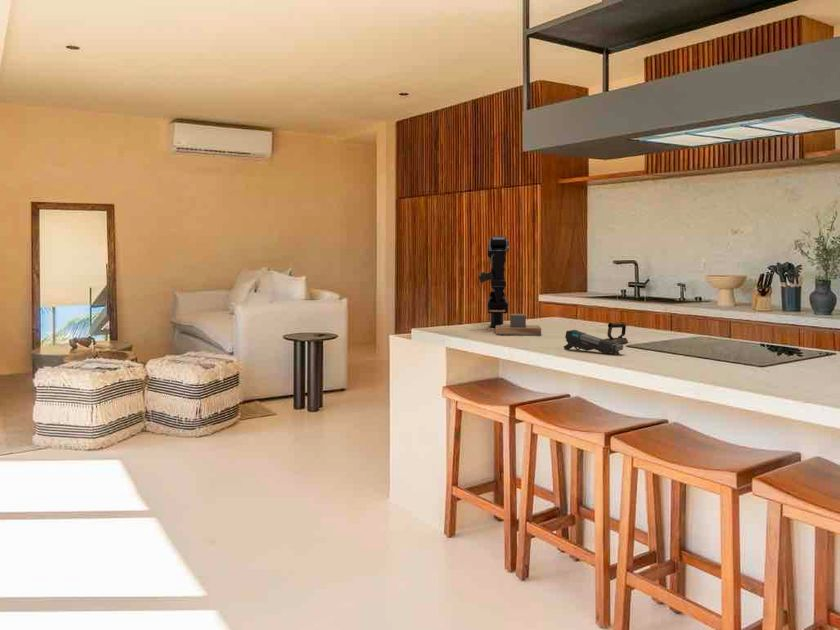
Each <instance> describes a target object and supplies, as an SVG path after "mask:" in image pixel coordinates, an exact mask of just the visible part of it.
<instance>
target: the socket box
mask: <svg viewBox="0 0 840 630" xmlns="http://www.w3.org/2000/svg"><path fill="white" fill-rule="evenodd" d="M496 335H501V336H509V337H510V336H511V337H512V336H514V337H517V336H518V337H519V336H520V337H521V336H522V337H542V327H541V326H540V325H536V324H533V325H532V324H531V325H530V324H529V325H527V324H526V328H514V327H510V324H503V325H496V327H495V336H496ZM501 336H500V337H501Z"/></svg>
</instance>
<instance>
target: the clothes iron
mask: <svg viewBox="0 0 840 630" xmlns="http://www.w3.org/2000/svg"><path fill="white" fill-rule="evenodd" d="M607 326H608V329H607V338H606V339H607V340H610V341H613V342H617V343H618V344H621V345H627V344H628V343H629V340H628V338H627V337H625V335H626V328H627V323H626V322H608V324H607ZM616 328H617V329H618V328H619V329H620V328H621V334H620V335H618V337H613V335H612V331H613V329H616Z"/></svg>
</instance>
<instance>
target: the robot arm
mask: <svg viewBox="0 0 840 630" xmlns="http://www.w3.org/2000/svg"><path fill="white" fill-rule="evenodd" d="M506 237H507V236H503V235H501V236H493V235H492V236H491V238H489V240H488V241H489V243H488V244H487V258H489V259H488V260H489V261H488V262H489V264H490V267H491V268H490V271H488V272H485V271H483V272H480V275H477V278H478V280H479V283H480V284H482V283H484V282H486V281H489V283H490V288H492V290H490V292H489V297H488V298H489V299H487V314H490V324H489V328H496V325H504V314H508V313H509V302H508V300H507V299H506V294H505V292H504V290H505V289H506V286H507V282H506V278H505V277H506V276H505V275H506V262H507V261H506V260H507V259H506V258H507V253H508V251H509V250H510V245H509V242H510V241H509V239H508V238H506Z"/></svg>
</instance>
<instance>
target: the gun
mask: <svg viewBox="0 0 840 630" xmlns="http://www.w3.org/2000/svg"><path fill="white" fill-rule="evenodd" d="M564 338H565V341H566V342H567V344H566V345H564V346H563V349H564V350H565V351H567V350H568V351H569V350H570V349H572V348H575V350H576V351H580V350H583V351H586V352H588V351H592V350H593V351H594V350H595V351H598V352H600V353H603V354H605V355H606V354H612V355H614V356H617V355H620V351H623V350H624V345H625V344H623V345H621V344H618V343H617V342H613V341H610V340H607V338H601V337H598V336H595V335H591V334H588V333H586V332H583V331H579V330H577V329H571V330H566V332H565V336H564Z"/></svg>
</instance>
